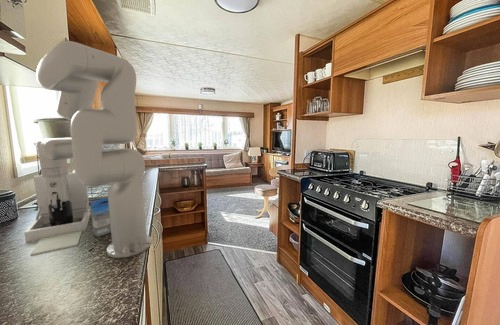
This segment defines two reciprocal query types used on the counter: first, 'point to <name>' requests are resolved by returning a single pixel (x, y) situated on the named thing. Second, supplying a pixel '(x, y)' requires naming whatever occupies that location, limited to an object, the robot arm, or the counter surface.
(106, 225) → the label tape box
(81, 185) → the white open box
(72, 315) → the counter surface
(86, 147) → the robot arm
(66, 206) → the supplement bottle
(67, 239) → the mat
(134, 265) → the counter surface
